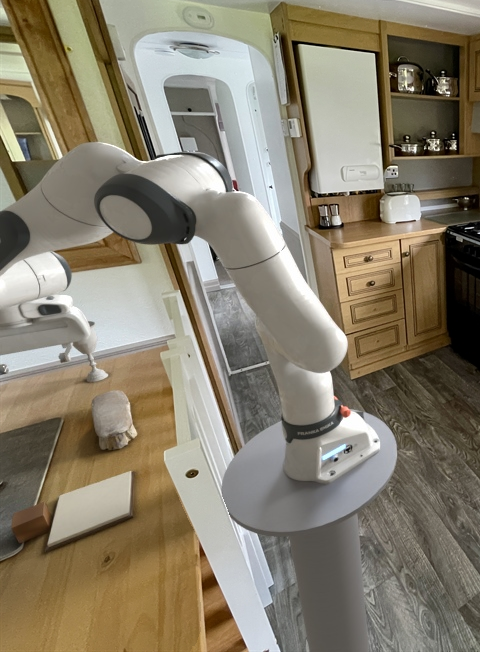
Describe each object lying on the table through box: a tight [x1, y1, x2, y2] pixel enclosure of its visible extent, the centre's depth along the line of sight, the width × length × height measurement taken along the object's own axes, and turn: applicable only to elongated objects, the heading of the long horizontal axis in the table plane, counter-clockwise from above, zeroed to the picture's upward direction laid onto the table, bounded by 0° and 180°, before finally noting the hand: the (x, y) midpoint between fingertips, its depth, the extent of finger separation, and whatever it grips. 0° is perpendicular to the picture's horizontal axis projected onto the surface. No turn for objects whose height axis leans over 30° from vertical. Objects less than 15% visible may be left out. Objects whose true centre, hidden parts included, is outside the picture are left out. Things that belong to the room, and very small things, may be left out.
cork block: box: [10, 501, 53, 545], centre depth 71 cm, size 4×4×4 cm
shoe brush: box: [90, 389, 138, 451], centre depth 98 cm, size 24×8×5 cm, turn 46°
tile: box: [44, 470, 136, 553], centre depth 76 cm, size 12×14×1 cm
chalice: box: [72, 320, 109, 383], centre depth 115 cm, size 7×7×18 cm
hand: (35, 367), depth 82 cm, fingers open, 8 cm apart
